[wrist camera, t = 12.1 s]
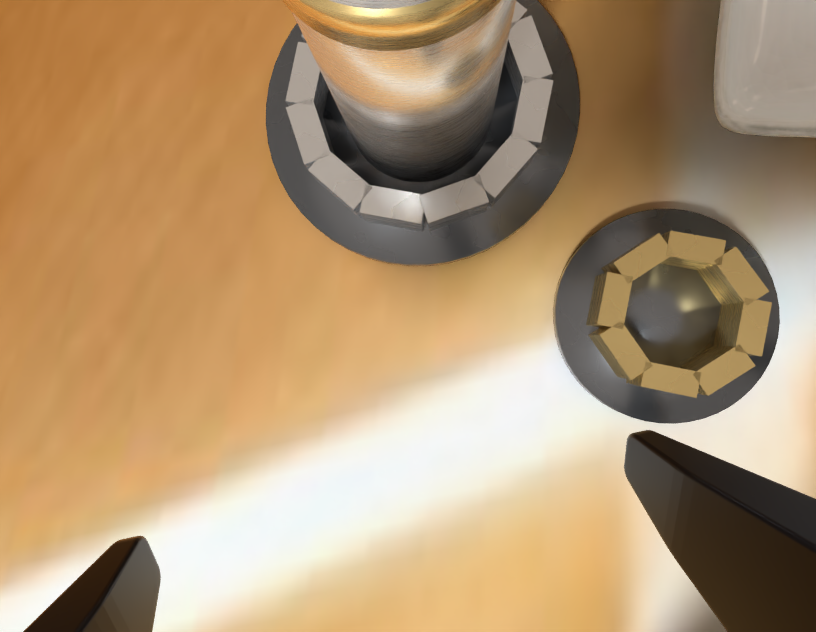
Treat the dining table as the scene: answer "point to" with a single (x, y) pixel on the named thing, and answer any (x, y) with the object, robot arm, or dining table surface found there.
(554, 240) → the dining table surface
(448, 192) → the collar
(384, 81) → the cylinder
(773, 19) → the square plate
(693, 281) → the brass collar
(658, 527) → the robot arm
